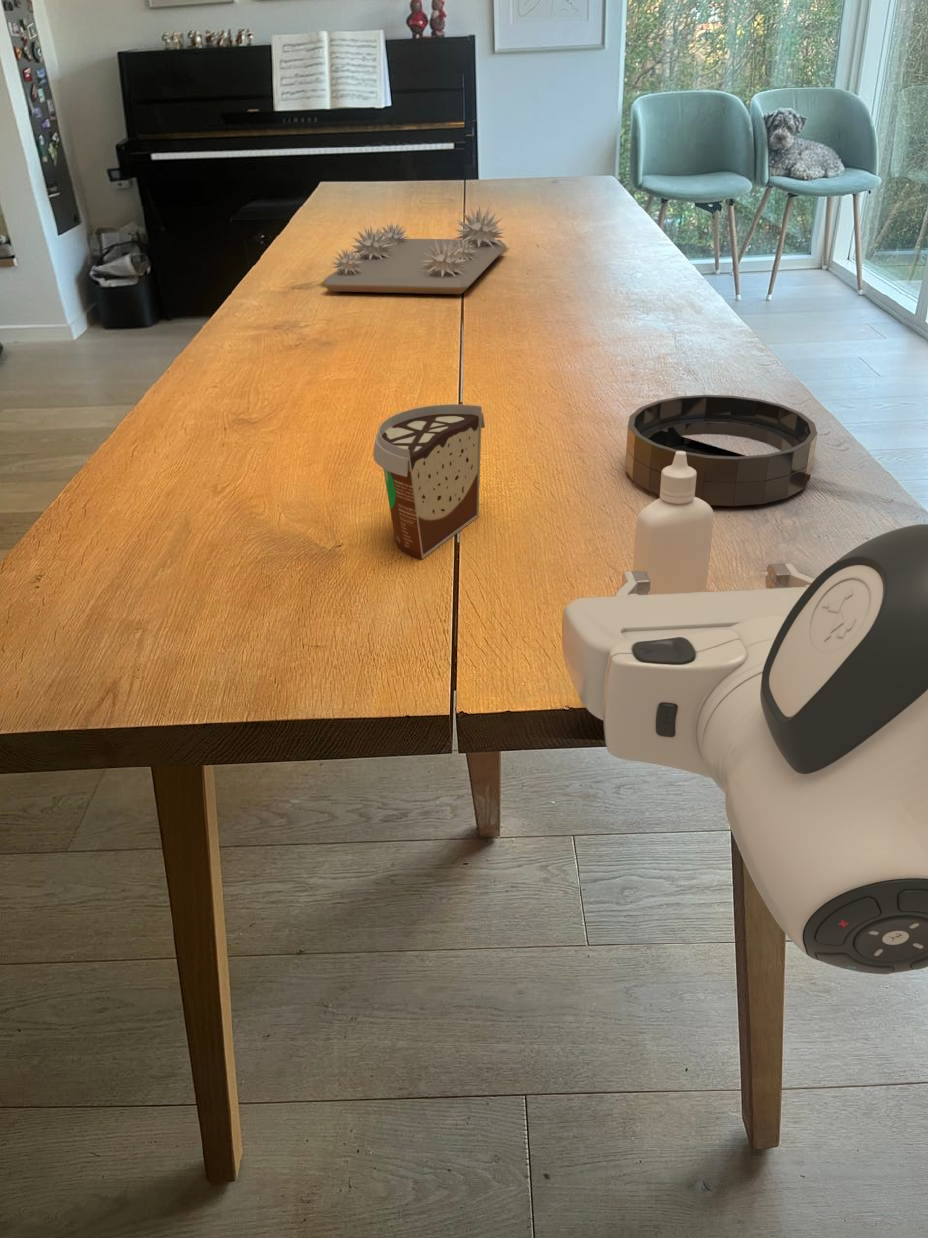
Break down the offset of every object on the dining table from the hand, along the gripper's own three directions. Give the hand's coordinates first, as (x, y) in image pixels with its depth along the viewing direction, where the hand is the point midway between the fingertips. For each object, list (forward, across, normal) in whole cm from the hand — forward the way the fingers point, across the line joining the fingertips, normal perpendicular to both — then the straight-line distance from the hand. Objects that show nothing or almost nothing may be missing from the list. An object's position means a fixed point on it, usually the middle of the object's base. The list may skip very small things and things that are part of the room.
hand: (705, 576), depth 64 cm
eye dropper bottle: (+8, 0, +7) cm, 11 cm away
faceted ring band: (+32, -10, +7) cm, 35 cm away
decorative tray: (+128, +18, +7) cm, 129 cm away
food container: (+23, +19, +7) cm, 30 cm away
